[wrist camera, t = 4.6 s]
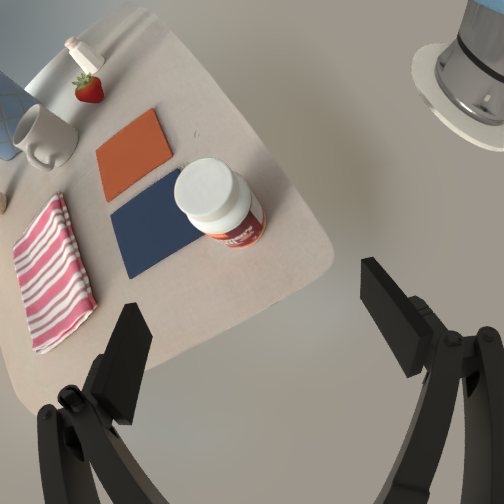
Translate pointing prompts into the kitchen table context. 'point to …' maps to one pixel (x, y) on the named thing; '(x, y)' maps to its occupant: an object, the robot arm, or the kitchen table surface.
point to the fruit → (89, 89)
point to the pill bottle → (220, 203)
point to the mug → (45, 138)
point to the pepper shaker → (84, 55)
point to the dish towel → (52, 277)
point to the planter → (11, 114)
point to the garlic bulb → (2, 203)
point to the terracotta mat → (132, 154)
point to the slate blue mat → (152, 226)
